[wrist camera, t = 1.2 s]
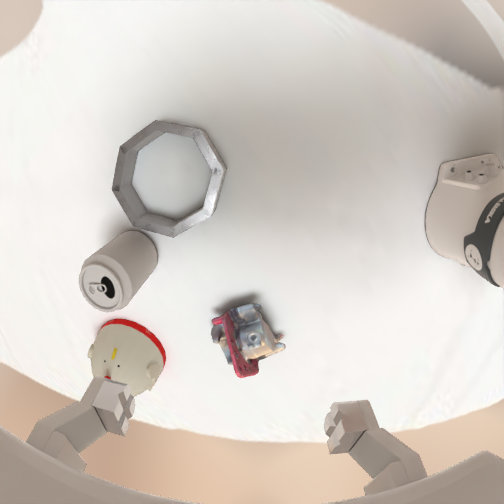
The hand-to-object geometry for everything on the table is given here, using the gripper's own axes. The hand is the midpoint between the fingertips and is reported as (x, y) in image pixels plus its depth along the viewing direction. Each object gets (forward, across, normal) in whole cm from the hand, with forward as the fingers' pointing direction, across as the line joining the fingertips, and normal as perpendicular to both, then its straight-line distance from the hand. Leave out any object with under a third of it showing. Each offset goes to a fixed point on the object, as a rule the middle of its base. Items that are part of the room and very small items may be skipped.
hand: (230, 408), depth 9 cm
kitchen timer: (+30, +19, +26) cm, 44 cm away
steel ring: (+30, +10, -5) cm, 32 cm away
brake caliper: (+30, -2, +17) cm, 34 cm away
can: (+30, +16, +6) cm, 34 cm away
